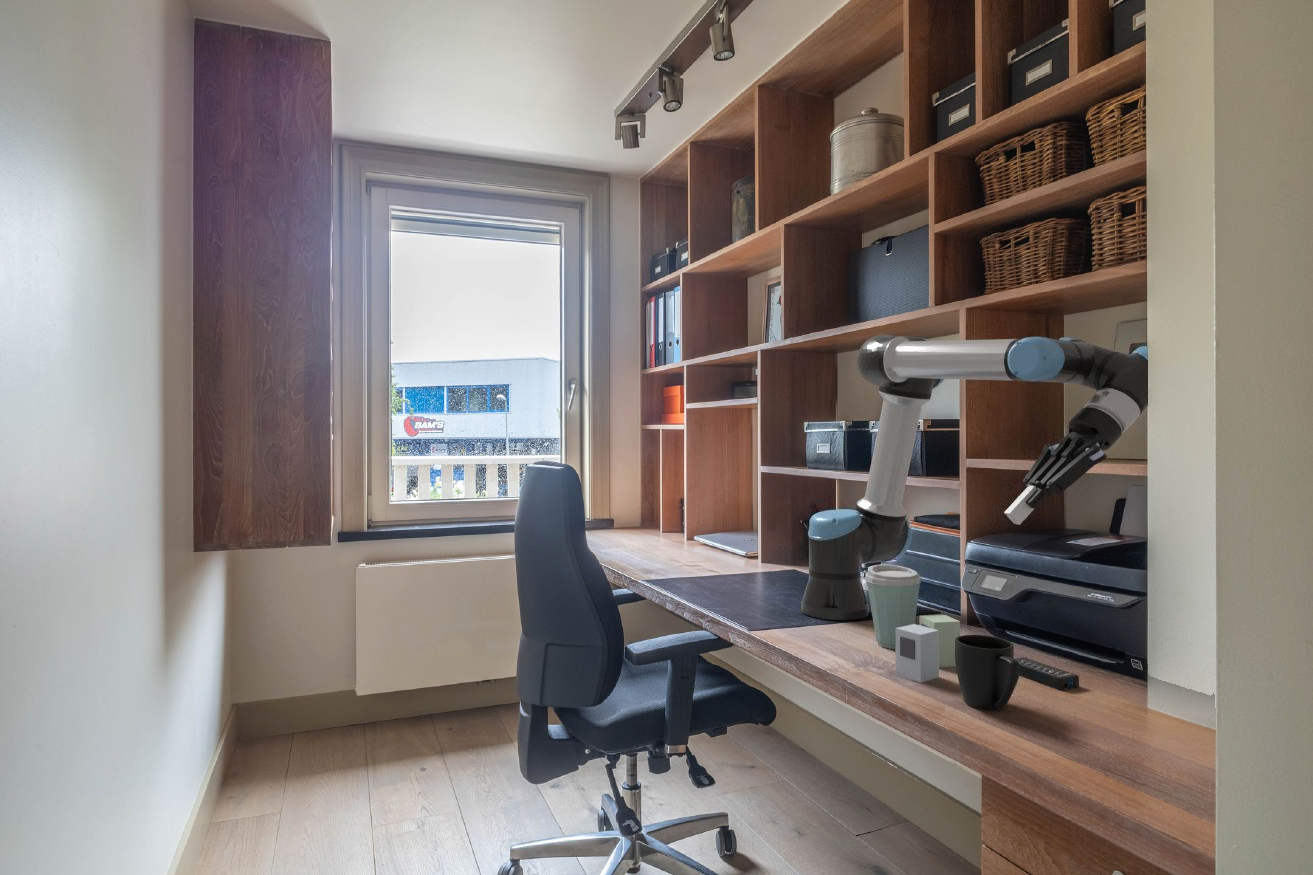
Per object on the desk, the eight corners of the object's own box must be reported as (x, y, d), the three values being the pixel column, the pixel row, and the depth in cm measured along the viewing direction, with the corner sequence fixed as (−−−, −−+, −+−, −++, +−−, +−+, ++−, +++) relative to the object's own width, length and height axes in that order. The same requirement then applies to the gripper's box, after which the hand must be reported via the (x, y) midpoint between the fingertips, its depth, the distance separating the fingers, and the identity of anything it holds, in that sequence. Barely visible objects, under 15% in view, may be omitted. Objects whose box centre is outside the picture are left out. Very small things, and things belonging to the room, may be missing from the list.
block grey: (894, 674, 125) (894, 628, 125) (914, 669, 128) (914, 623, 128) (919, 683, 121) (919, 634, 121) (939, 677, 124) (939, 630, 124)
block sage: (918, 659, 134) (918, 615, 134) (944, 657, 135) (944, 614, 135) (932, 667, 129) (932, 622, 129) (959, 666, 130) (960, 621, 130)
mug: (986, 725, 104) (987, 657, 104) (944, 695, 115) (945, 634, 115) (1041, 722, 104) (1041, 656, 104) (994, 693, 116) (994, 633, 116)
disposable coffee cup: (934, 648, 141) (934, 570, 141) (892, 656, 136) (892, 575, 136) (893, 634, 150) (893, 562, 150) (852, 641, 145) (852, 566, 145)
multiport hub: (1024, 669, 129) (1024, 656, 129) (1080, 689, 119) (1080, 675, 119) (1005, 672, 128) (1005, 659, 128) (1060, 693, 117) (1060, 678, 117)
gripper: (1062, 406, 132) (975, 499, 130) (1117, 403, 119) (1022, 507, 117) (1088, 435, 133) (1002, 528, 130) (1146, 436, 120) (1052, 540, 118)
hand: (1011, 518), depth 124 cm, fingers closed
